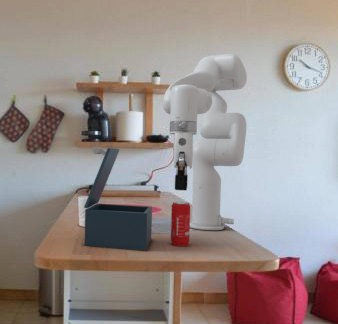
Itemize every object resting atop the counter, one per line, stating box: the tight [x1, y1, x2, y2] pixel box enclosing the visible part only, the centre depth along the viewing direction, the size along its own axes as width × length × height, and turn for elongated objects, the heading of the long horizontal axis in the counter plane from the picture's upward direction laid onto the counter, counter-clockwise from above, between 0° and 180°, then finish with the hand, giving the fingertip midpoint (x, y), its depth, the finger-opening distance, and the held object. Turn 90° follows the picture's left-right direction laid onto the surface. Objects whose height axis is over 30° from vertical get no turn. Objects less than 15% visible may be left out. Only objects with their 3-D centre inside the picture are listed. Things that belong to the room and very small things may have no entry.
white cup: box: [77, 195, 101, 228], centre depth 137 cm, size 8×8×10 cm
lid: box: [84, 146, 121, 208], centre depth 114 cm, size 18×14×6 cm
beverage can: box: [170, 201, 191, 247], centre depth 112 cm, size 5×5×12 cm
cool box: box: [83, 203, 153, 252], centre depth 112 cm, size 17×14×10 cm
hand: (181, 188), depth 111 cm, fingers open, 9 cm apart
